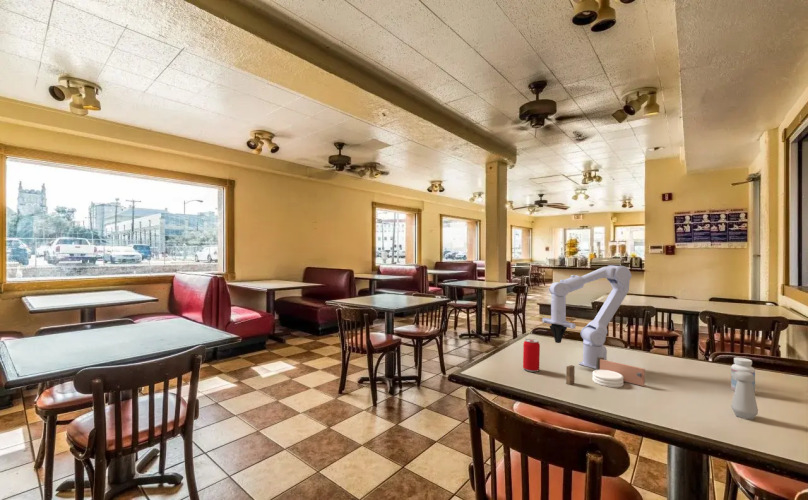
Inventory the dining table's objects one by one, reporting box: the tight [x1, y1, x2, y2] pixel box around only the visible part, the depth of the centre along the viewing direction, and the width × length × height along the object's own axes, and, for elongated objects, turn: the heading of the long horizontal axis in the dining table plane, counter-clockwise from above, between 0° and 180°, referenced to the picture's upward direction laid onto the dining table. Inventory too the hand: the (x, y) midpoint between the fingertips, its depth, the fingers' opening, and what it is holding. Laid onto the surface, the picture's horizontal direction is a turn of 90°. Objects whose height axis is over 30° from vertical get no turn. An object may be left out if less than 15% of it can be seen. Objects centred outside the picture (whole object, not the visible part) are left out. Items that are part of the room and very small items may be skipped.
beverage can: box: [522, 338, 541, 373], centre depth 144 cm, size 6×6×12 cm
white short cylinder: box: [591, 369, 625, 389], centre depth 131 cm, size 10×10×4 cm
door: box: [600, 359, 646, 387], centre depth 133 cm, size 15×2×6 cm, turn 42°
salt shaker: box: [730, 371, 759, 421], centre depth 105 cm, size 6×6×13 cm
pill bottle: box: [730, 357, 756, 394], centre depth 124 cm, size 6×6×11 cm
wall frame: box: [565, 357, 604, 386], centre depth 135 cm, size 22×1×7 cm, turn 121°
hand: (558, 342), depth 152 cm, fingers closed
